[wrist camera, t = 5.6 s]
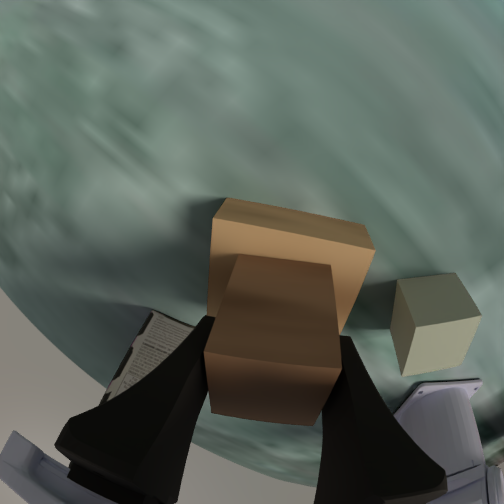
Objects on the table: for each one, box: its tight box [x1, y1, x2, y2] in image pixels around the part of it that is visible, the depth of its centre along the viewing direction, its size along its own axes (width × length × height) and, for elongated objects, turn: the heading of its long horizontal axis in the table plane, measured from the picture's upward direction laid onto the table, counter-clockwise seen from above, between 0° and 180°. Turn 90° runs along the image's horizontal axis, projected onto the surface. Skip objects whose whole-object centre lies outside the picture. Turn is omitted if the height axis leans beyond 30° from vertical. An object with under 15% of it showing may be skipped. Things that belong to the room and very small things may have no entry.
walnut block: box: [204, 254, 342, 426], centre depth 11 cm, size 4×4×6 cm
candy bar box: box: [68, 310, 195, 469], centre depth 15 cm, size 11×5×16 cm, turn 161°
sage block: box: [390, 273, 482, 377], centre depth 14 cm, size 4×4×4 cm
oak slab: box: [207, 198, 376, 335], centre depth 15 cm, size 7×7×3 cm
